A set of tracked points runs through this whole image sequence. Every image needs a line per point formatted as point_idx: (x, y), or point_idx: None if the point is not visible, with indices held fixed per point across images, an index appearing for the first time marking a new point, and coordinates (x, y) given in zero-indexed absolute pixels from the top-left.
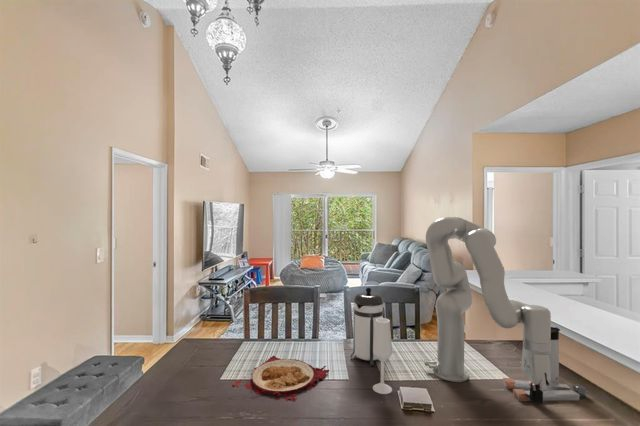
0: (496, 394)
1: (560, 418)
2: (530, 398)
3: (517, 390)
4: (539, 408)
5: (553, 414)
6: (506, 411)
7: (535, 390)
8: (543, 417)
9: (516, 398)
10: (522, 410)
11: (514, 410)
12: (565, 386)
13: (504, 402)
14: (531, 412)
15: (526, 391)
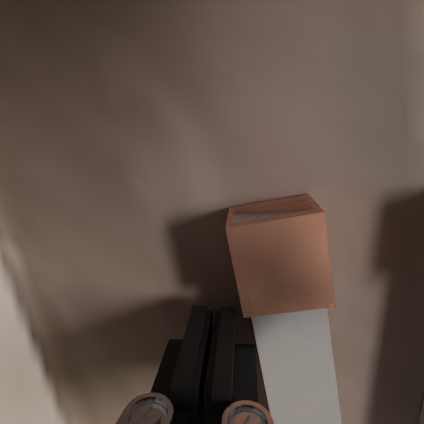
0: (327, 28)
1: (67, 385)
2: (222, 312)
3: (299, 246)
4: (154, 319)
5: (101, 369)
6: (30, 27)
7: (131, 415)
8: (43, 291)
9: (257, 203)
10: (90, 180)
11: (70, 111)
12: None
13: (182, 63)
14: (82, 238)
15: (311, 330)
